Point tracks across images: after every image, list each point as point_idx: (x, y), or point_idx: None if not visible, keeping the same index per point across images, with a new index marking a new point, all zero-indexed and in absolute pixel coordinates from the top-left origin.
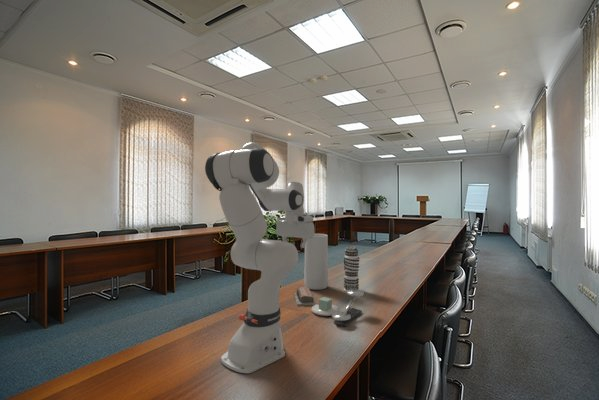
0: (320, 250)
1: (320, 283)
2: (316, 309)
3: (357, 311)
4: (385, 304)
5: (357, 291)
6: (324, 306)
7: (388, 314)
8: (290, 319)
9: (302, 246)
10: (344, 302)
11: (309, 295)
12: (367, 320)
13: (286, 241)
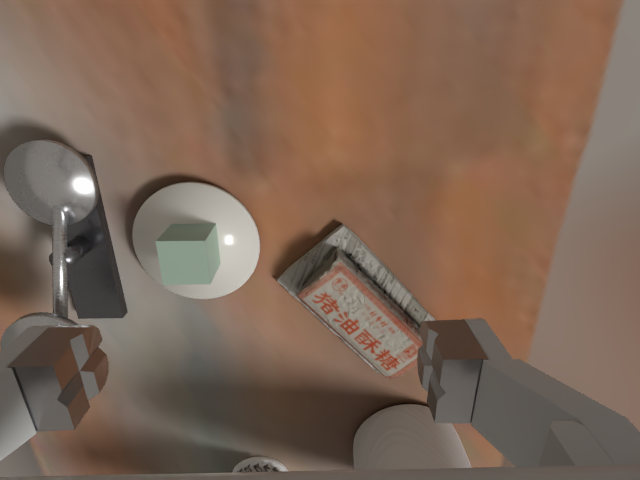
0: None
1: (366, 442)
2: (220, 213)
3: (82, 298)
4: None
5: None
6: (178, 230)
7: None
8: (268, 70)
9: (29, 335)
10: (202, 362)
11: (317, 297)
12: (20, 262)
13: (483, 406)
